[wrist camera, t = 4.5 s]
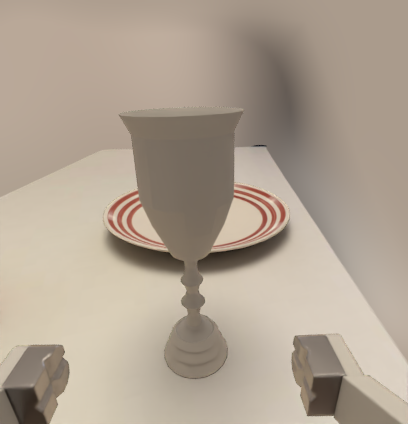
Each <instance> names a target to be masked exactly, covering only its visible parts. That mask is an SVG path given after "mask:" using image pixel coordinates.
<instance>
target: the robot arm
mask: <svg viewBox="0 0 408 424" xmlns="http://www.w3.org/2000/svg"><path fill="white" fill-rule="evenodd" d="M293 345H294V347H295V351H294V352H293V353H292V360H291V361H292V370H293V374H294V378H295V381H296V383H297V384H298V385H299V386H300V387H301V394H300V396H301V399H302V402H303V405H304V408H305V411H306V414H307V416H334V418H335V419H336V420H337V421H338V422H339V424H408V403H406V402H405V401H404V400H402V399H401V398H400V397H398V396H397V395H395V394H394V393H393V392H391V391H390V390H389V389H387V388H386V387H384V386H383V385H382V384H380V383H379V382H378V381H376V380H375V379H373V378H372V377H371V376H369V375H364V374H363V372H362V370H361V368H360V367H359V365H358V363H357V362H356V360H355V358H354V357H353V355H352V353H351V352H350V350H349V348H348V347H347V345H346V343H345V341H344V340H343V338H342V336H341V335H339V334H324V335H323V334H318V335H298V336H295V337H294V341H293ZM64 353H65V351H64V348H63V345H17V346H16V347H14V348H13V349H12V350H11V351H10V352H9V354H8V355H7V357H6V358H5V359H4V361H3V362H2V363H1V365H0V424H49V423H50V421H51V419H52V417H53V414H54V412H55V410H56V408H57V406H58V403H57V399H56V398H57V397H58V396H59V395H60V394H62V393H63V392H64V390H65V388H66V385H67V383H68V378H69V364H68V361H66V360H65V359H64V358H63V355H64Z"/></svg>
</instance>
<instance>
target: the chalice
mask: <svg viewBox="0 0 408 424" xmlns="http://www.w3.org/2000/svg"><path fill="white" fill-rule="evenodd" d="M243 111H244V109H241V108H231V107H187V108H186V107H184V108H163V109H149V110H138V111H129V112H124V113H120V114H119V116H120V117H121V119H122V120H123V123H124V124H125V126H126V127H127V129H128V131H129V132H130V134H131V139H132V147H133V154H134V162H135V170H136V178H137V186H138V193H139V200H140V202H141V204H142V206H143V208H144V211H145V213H146V215H147V217H148V219H149V221H150V223H151V225H152V227H153V228H154V230H155V231H156V233H157V234H158V236H159V237H160V239H161V240H162V242H163V243H164V245H165V246H166V248H167V249H168V251H169V252H170V254H171V255H172V256H173V257H174V258H176V259H178V260H181V261H184V264H185V269H184V275H183V276H182V277H181V282H182V284H183V285H184V286H185V288H186V290H187V291H186V295H184V296H183V298H182V300H181V303H182V305H183V306H184V307H185V308H187V311H188V316H185V317H183V318H182V319H180V320H179V321H178V322H177V323H176V324H175V326H174V327H173V329H172V332H171V334H170V337H169V340H168V341H167V344H166V347H165V350H164V352H165V360H166V362H167V364H168V366H169V367H170V368H171V369H172V370H173V371H174V372H175V373H176V374H179V375H181V376H183V377H187V378H195V379H196V378H202V377H207V376H209V375H211V374H213V373H215V372H216V371H217V370H218V369H219V368H220V367H221V366H222V365H223V364H224V362H225V360H226V358H227V351H228V348H227V344H226V341H225V339H224V338H223V336H222V334H221V332H220V331H219V329H218V327H217V325H216V324H215V322H214V321H212V320H211V319H210V318H208V317H207V316H204V315H201V314H200V313H199V312H200V307H201V306H203V305H204V303H205V298H204V297H203V296H202V295H201V294H200V293H199V290H198V289H199V286H200V284H201V283H202V281H203V277H202V276H201V275H200V274H199V271H198V267H197V262H198V260H200V259H203V258H204V257H206V256H207V255H208V254H209V253H210V251H211V249H212V247H213V245H214V243H215V241H216V239H217V237H218V235H219V233H220V231H221V230H222V228H223V226H224V224H225V221H226V218H227V215H228V212H229V209H230V206H231V203H232V201H233V198H234V131H235V128H236V126H237V124H238V122H239V120H240V118H241V115H242V113H243Z"/></svg>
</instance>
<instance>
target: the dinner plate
mask: <svg viewBox="0 0 408 424" xmlns="http://www.w3.org/2000/svg"><path fill="white" fill-rule="evenodd" d="M289 218H290V211H289V208H288V206H287V205H286V203H285V202H284V201H283V200H281V199H280V198H279V197H277V196H276V195H274V194H272V193H270V192H268V191H266V190H264V189H261V188H258V187H255V186H251V185H248V184H243V183H238V182H234V198H233V201H232V203H231V206H230V209H229V212H228V215H227V218H226V221H225V224H224V226H223V228H222V230H221V231H220V233H219V235H218V237H217V239H216V241H215V243H214V245H213V247H212V249H211V251H210V253H212V252H220V251H228V250H234V249H240V248H244V247H247V246H251V245H254V244H257V243H260V242H263V241H265V240H267V239H269V238H271V237H273V236H275V235H276V234H278V233H279V232H280V231H281V230H283V229H284V228H285V226H286V225H287V223H288V221H289ZM103 222H104V225H105V226H106V228H107V229H108V230H109V231H110V232H111V233H112V234H113V235H115V236H116V237H118V238H120V239H122V240H124V241H126V242H129V243H131V244H134V245H137V246H140V247H144V248H148V249H152V250H157V251H163V252H169V251H168V249H167V248H166V246H165V245H164V243H163V242H162V240H161V239H160V237H159V236H158V234H157V233H156V231H155V230H154V228H153V227H152V225H151V223H150V221H149V219H148V217H147V215H146V213H145V211H144V208H143V206H142V204H141V202H140V200H139V193H138V188H137V189H134V190H131V191H129V192H127V193H125V194H123V195H121V196H119V197H117V198H116V199H114V200H113V201H112V202H111V203H110V204H109V205H108V206H107V207H106V209H105V211H104V213H103Z"/></svg>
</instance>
